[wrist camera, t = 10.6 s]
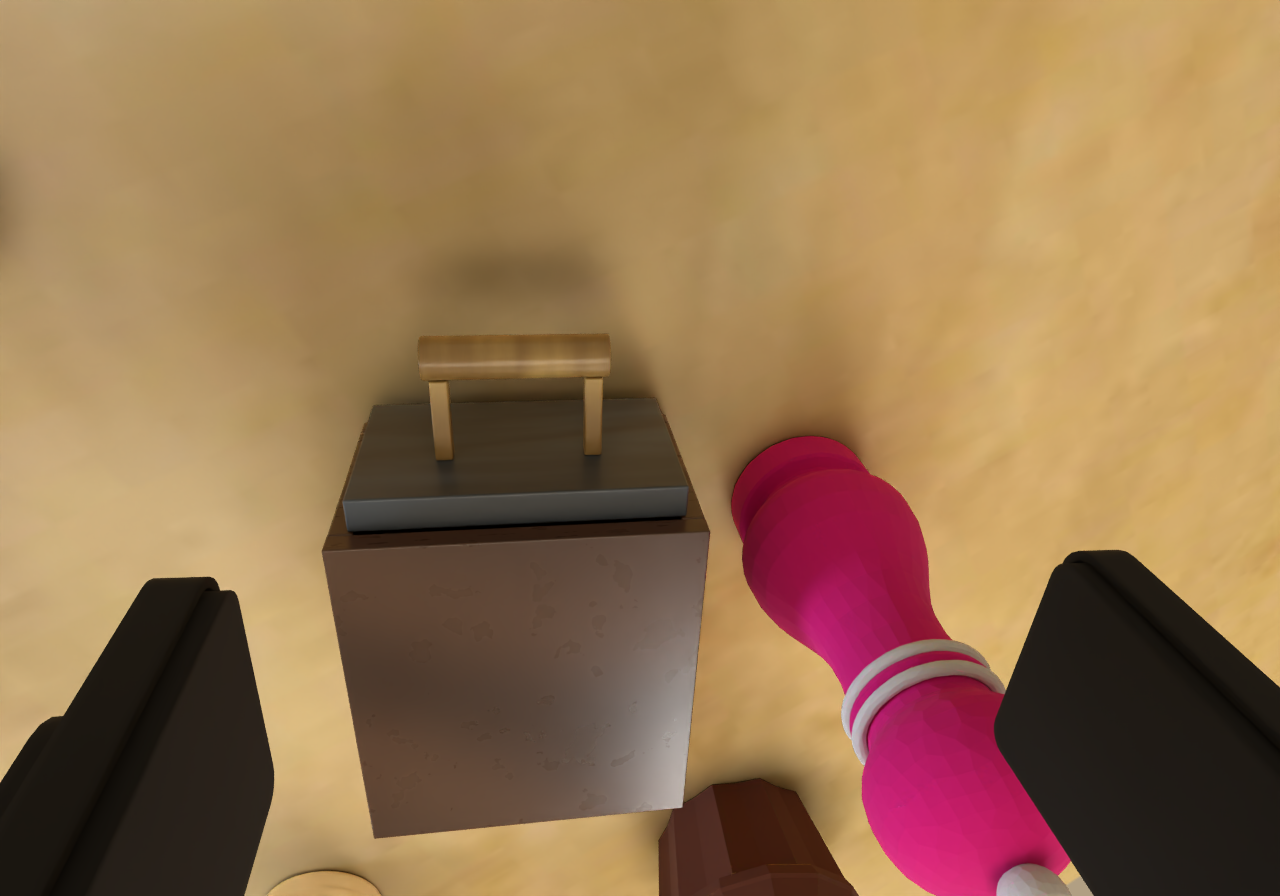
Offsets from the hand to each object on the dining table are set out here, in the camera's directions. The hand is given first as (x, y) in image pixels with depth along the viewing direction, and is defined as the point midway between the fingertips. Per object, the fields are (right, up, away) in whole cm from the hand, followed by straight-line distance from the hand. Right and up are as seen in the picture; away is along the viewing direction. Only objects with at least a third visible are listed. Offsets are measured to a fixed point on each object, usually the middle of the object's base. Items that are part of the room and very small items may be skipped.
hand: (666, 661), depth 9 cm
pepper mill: (+7, 0, +28) cm, 28 cm away
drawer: (-5, +1, +24) cm, 25 cm away
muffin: (+5, -20, +39) cm, 44 cm away
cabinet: (-5, -2, +27) cm, 28 cm away
